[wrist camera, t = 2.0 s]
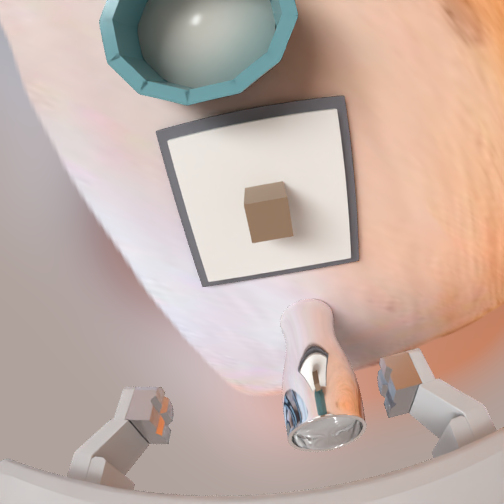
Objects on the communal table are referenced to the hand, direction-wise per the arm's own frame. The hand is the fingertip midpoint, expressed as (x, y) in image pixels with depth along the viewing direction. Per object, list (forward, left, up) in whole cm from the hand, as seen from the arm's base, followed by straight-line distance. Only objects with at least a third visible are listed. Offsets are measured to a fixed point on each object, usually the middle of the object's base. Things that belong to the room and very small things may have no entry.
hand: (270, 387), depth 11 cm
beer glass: (-3, +15, -20) cm, 26 cm away
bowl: (+1, -16, -20) cm, 26 cm away
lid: (-1, 0, -20) cm, 20 cm away
